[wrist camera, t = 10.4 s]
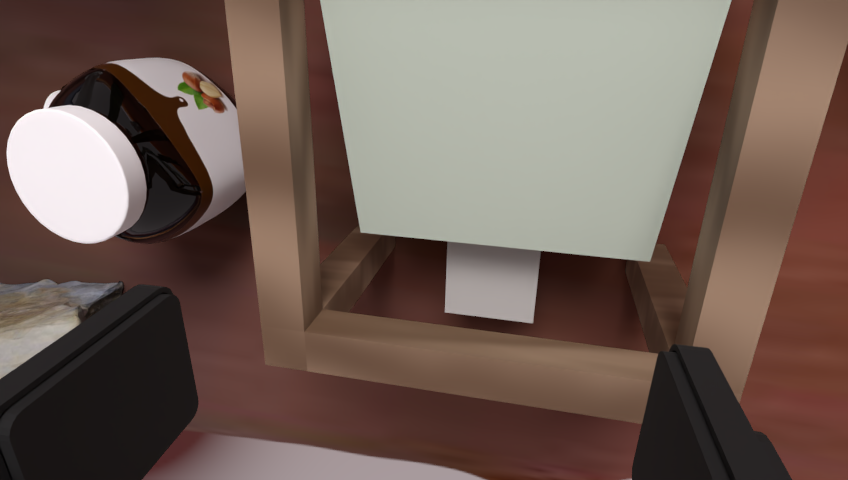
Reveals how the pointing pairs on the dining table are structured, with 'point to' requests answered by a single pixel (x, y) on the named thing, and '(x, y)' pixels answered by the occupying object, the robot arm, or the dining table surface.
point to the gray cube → (491, 281)
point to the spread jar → (129, 153)
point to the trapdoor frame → (649, 281)
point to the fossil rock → (45, 315)
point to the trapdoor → (520, 116)
